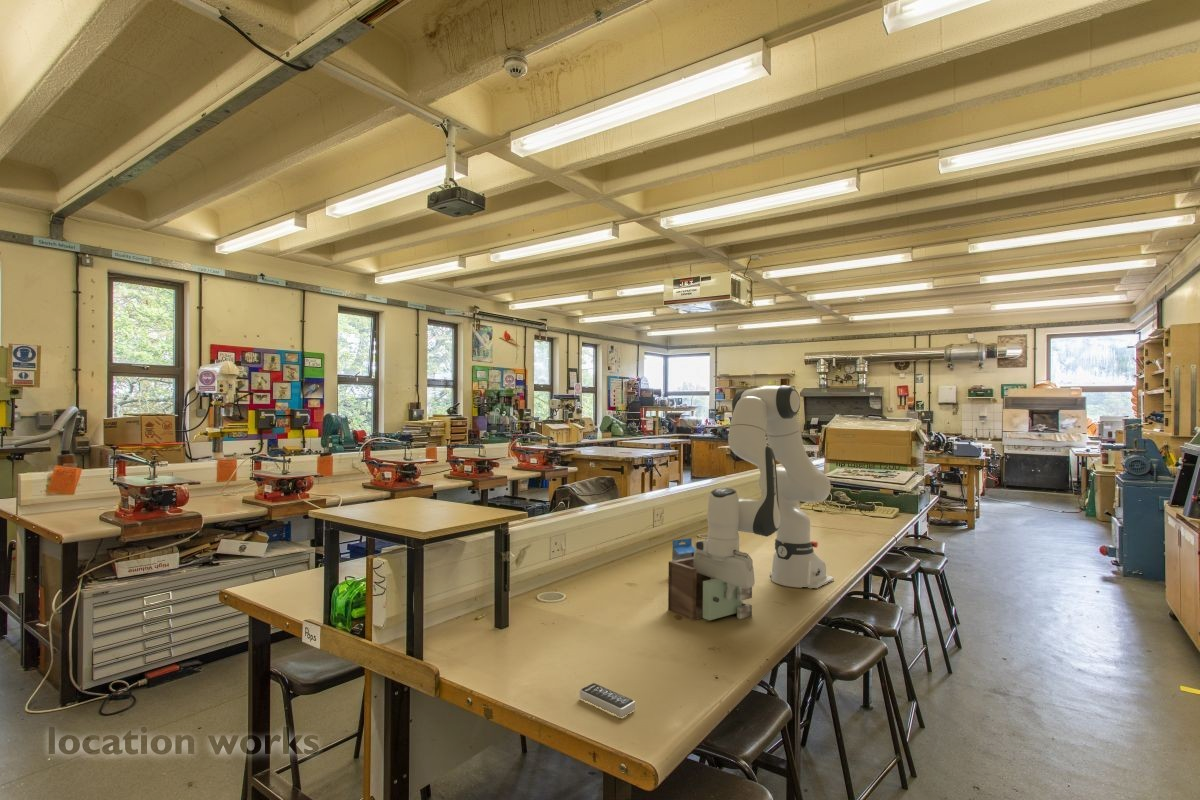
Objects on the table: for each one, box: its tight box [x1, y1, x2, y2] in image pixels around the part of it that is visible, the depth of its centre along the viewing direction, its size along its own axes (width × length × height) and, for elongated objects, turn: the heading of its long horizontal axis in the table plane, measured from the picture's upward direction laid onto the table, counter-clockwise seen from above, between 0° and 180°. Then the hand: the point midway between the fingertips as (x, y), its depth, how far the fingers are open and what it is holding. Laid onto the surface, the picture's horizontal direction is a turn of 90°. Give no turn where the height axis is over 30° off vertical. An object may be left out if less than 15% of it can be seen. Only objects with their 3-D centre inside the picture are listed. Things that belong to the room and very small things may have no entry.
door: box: [702, 579, 743, 621], centre depth 159 cm, size 13×4×10 cm, turn 124°
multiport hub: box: [579, 682, 636, 717], centre depth 111 cm, size 4×11×2 cm, turn 48°
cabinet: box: [667, 557, 753, 621], centre depth 164 cm, size 17×16×14 cm
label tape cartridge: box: [671, 537, 696, 561], centre depth 202 cm, size 9×4×12 cm, turn 120°
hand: (722, 596), depth 160 cm, fingers closed on door, 2 cm apart
